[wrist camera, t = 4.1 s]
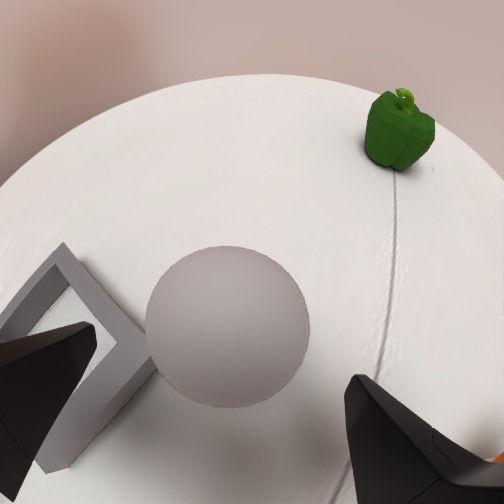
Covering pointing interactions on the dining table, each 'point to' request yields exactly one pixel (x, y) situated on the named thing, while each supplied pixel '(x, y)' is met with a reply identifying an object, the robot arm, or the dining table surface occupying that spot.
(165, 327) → the lightbulb
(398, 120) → the bell pepper
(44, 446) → the socket
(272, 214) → the dining table surface
